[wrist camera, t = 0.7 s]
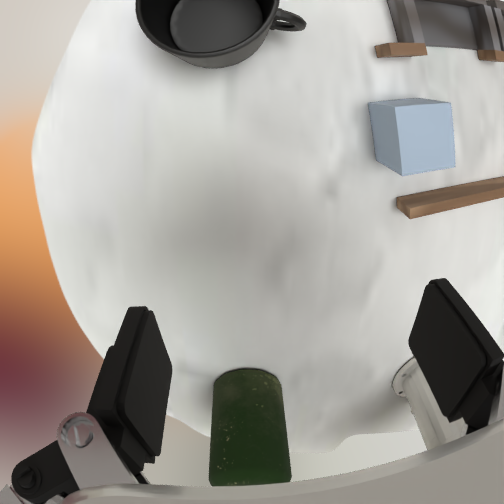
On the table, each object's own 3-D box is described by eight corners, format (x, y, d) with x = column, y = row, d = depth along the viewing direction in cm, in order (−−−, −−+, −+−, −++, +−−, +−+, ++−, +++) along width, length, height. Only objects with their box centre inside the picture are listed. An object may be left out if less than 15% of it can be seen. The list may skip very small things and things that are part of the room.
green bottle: (242, 411, 49) (245, 547, 27) (199, 384, 45) (187, 539, 23) (293, 389, 46) (314, 538, 24) (253, 357, 42) (261, 535, 20)
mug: (285, 82, 25) (303, 77, 17) (156, 63, 24) (121, 53, 16) (305, -5, 21) (330, -39, 13) (177, -23, 20) (153, -61, 12)
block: (424, 152, 29) (455, 166, 23) (375, 160, 29) (402, 176, 24) (418, 97, 26) (450, 102, 20) (367, 102, 26) (394, 106, 21)
